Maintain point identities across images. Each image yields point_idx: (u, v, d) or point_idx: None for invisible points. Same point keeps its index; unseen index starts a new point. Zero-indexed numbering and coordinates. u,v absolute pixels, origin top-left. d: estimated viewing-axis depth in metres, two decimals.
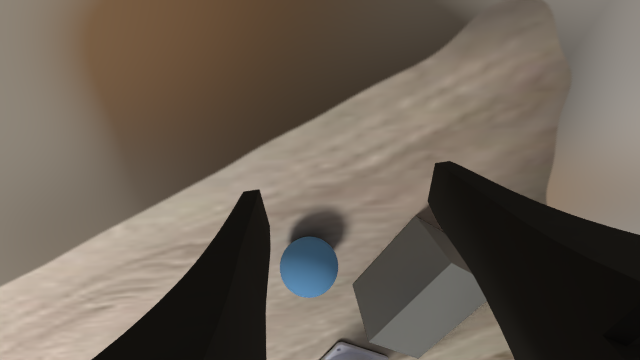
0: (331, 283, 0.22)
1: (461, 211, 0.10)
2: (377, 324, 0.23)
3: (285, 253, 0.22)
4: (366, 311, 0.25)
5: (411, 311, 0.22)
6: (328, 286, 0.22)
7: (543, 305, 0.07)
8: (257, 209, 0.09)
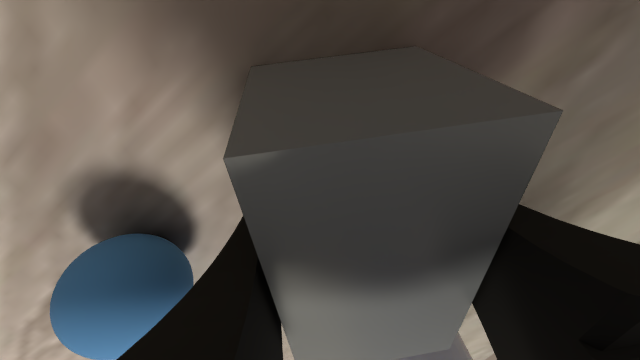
0: (144, 318, 0.10)
1: None
2: None
3: None
4: None
5: (309, 313, 0.08)
6: (139, 328, 0.10)
7: (524, 309, 0.07)
8: None
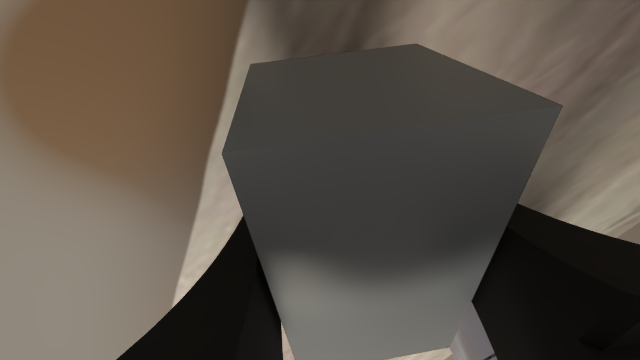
0: None
1: None
2: None
3: None
4: None
5: (308, 310, 0.08)
6: None
7: (524, 309, 0.07)
8: None
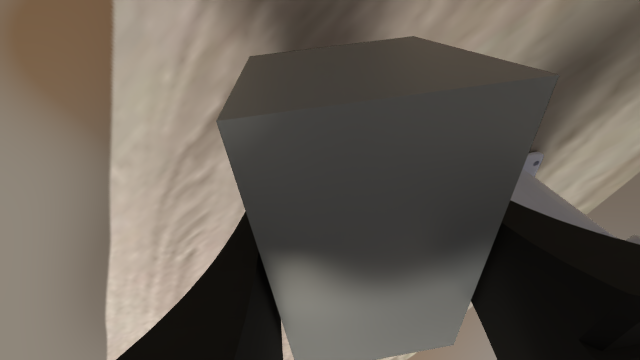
0: None
1: None
2: None
3: None
4: None
5: (306, 299, 0.07)
6: None
7: (524, 309, 0.07)
8: None
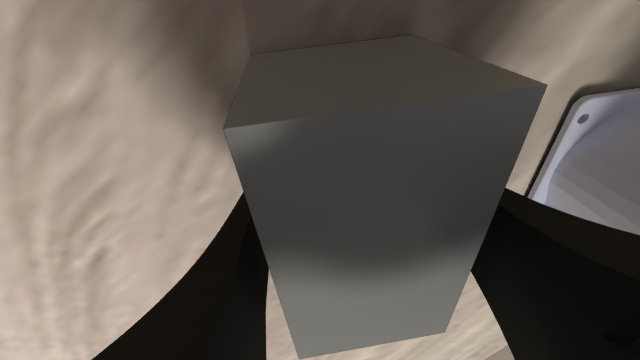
0: None
1: None
2: None
3: None
4: None
5: (306, 291, 0.08)
6: None
7: (543, 305, 0.07)
8: None
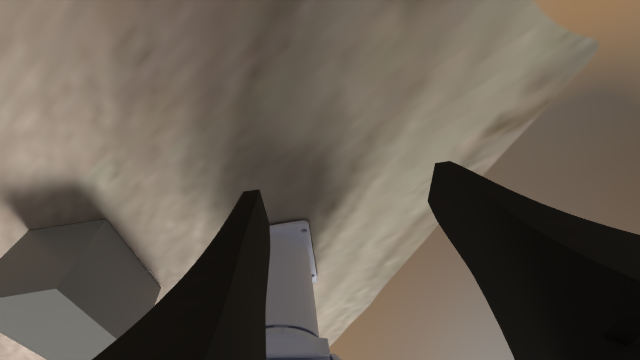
0: None
1: (461, 211, 0.10)
2: None
3: None
4: None
5: (31, 341, 0.20)
6: None
7: (543, 305, 0.07)
8: (257, 209, 0.09)
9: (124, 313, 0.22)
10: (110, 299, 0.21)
